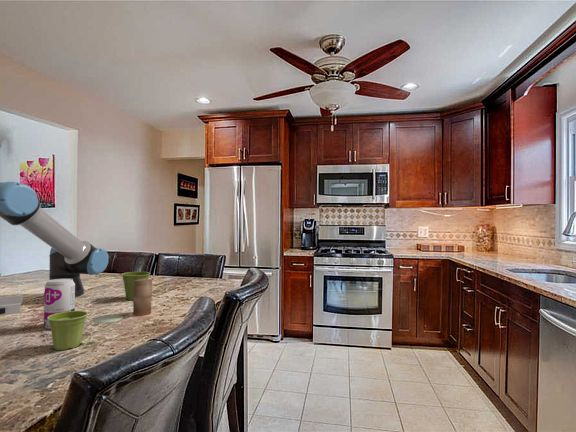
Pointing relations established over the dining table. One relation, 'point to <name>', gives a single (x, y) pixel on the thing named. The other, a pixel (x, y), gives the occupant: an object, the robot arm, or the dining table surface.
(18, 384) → the dining table surface
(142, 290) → the walnut canister
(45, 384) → the dining table surface
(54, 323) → the plant pot
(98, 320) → the board
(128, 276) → the plant pot
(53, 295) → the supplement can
